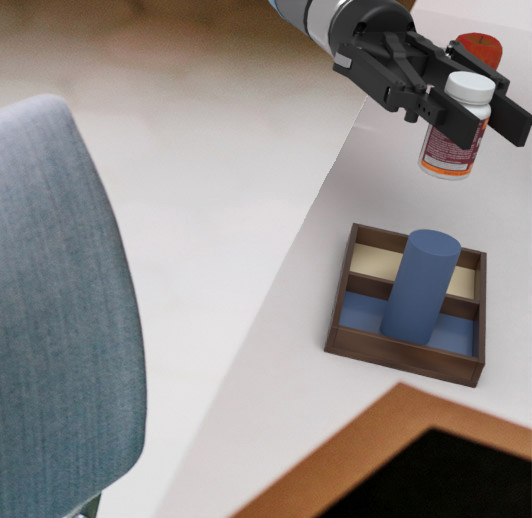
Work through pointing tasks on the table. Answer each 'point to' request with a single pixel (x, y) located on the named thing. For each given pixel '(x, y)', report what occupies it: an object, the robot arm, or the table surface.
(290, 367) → the table surface
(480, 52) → the apple
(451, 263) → the blue cylinder
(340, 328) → the sorting tray
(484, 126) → the pill bottle
